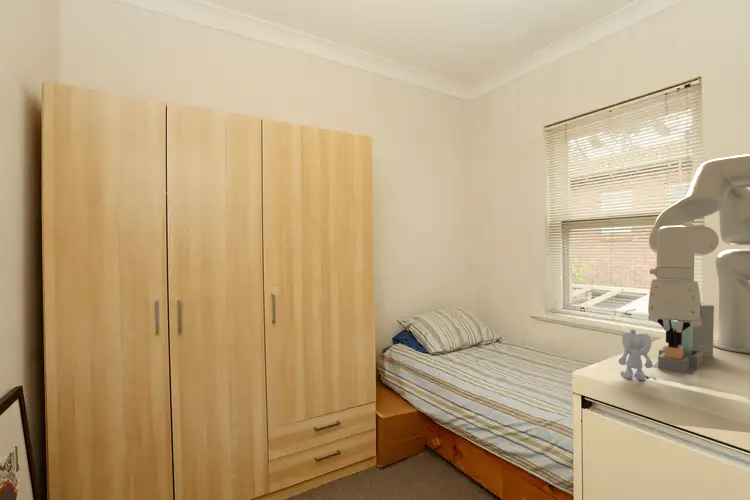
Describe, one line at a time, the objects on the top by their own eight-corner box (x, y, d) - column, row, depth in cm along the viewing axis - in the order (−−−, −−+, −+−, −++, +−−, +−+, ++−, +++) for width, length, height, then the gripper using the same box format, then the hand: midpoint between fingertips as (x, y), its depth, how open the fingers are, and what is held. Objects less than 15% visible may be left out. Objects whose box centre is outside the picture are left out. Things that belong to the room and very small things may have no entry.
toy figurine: (648, 376, 93) (648, 327, 93) (654, 384, 88) (655, 332, 88) (615, 372, 96) (616, 324, 96) (619, 379, 91) (620, 329, 90)
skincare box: (696, 353, 114) (697, 301, 114) (715, 360, 107) (716, 304, 107) (666, 352, 115) (667, 300, 115) (683, 359, 108) (684, 304, 108)
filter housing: (665, 359, 108) (665, 345, 108) (702, 366, 102) (702, 351, 102) (651, 370, 98) (652, 355, 98) (691, 378, 92) (692, 362, 92)
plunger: (667, 363, 99) (667, 344, 99) (683, 366, 96) (683, 346, 96) (664, 365, 97) (664, 346, 97) (680, 368, 94) (680, 348, 94)
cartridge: (671, 358, 105) (671, 318, 105) (693, 362, 102) (694, 321, 102) (667, 361, 102) (667, 321, 102) (690, 365, 99) (690, 323, 99)
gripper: (635, 273, 99) (634, 343, 99) (711, 277, 88) (710, 355, 88) (643, 272, 104) (642, 339, 104) (716, 275, 93) (714, 350, 93)
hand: (673, 346), depth 96 cm, fingers closed
